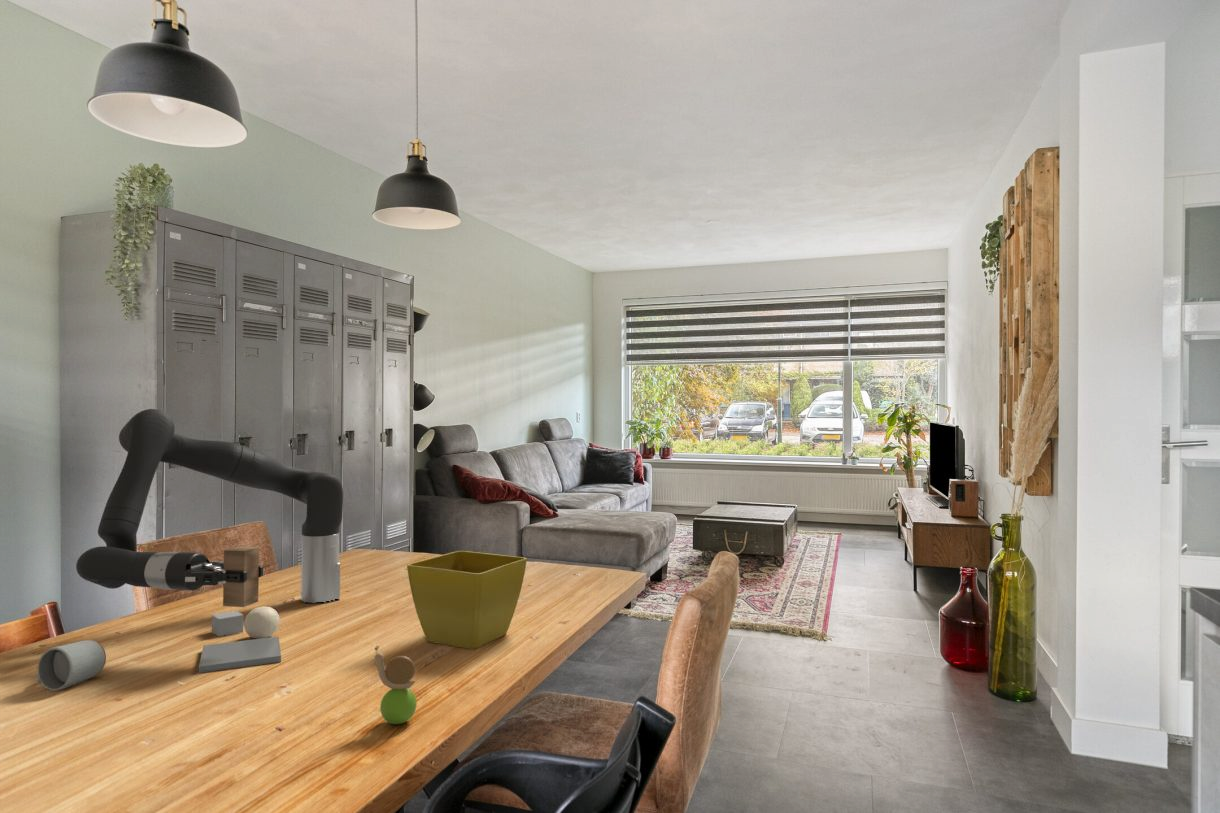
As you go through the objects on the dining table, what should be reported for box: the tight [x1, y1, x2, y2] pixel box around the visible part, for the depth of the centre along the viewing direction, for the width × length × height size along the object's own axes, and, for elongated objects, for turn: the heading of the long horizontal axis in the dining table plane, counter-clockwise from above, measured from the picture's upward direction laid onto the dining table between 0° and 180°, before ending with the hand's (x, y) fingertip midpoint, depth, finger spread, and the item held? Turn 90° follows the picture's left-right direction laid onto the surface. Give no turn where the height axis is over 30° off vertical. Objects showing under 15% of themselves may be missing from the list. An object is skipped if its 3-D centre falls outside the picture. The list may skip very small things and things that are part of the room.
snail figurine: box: [374, 645, 417, 725], centre depth 113 cm, size 5×6×12 cm
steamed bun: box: [243, 606, 281, 639], centre depth 157 cm, size 7×7×7 cm
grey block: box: [211, 610, 244, 638], centre depth 161 cm, size 5×5×4 cm
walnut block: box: [222, 546, 260, 608], centre depth 145 cm, size 4×4×11 cm
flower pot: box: [406, 550, 527, 650], centre depth 157 cm, size 19×19×17 cm
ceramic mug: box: [35, 639, 107, 691], centre depth 130 cm, size 10×8×7 cm
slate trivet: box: [198, 636, 282, 674], centre depth 145 cm, size 14×14×1 cm
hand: (253, 574), depth 144 cm, fingers closed on walnut block, 4 cm apart
